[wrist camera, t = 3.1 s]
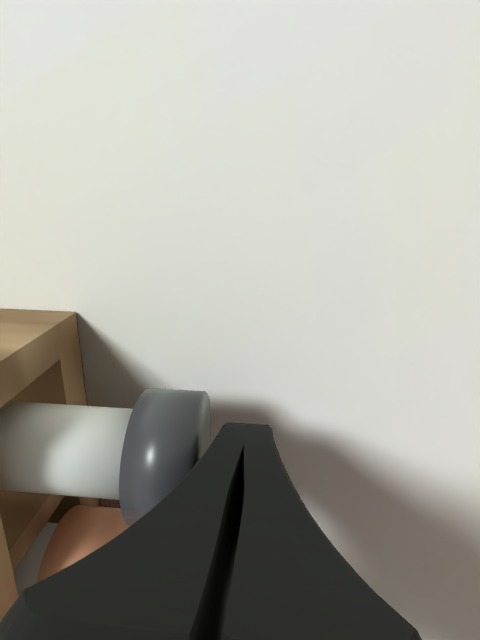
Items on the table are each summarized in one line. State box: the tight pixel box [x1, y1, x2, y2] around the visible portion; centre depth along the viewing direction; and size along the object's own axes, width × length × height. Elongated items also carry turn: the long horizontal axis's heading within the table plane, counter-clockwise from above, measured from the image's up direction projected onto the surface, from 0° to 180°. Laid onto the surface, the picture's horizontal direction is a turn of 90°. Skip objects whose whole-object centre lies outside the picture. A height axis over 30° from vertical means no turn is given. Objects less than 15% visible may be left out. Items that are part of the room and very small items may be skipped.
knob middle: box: [13, 505, 130, 597], centre depth 13 cm, size 4×6×4 cm, turn 89°
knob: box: [0, 388, 211, 526], centre depth 12 cm, size 4×6×4 cm, turn 89°
